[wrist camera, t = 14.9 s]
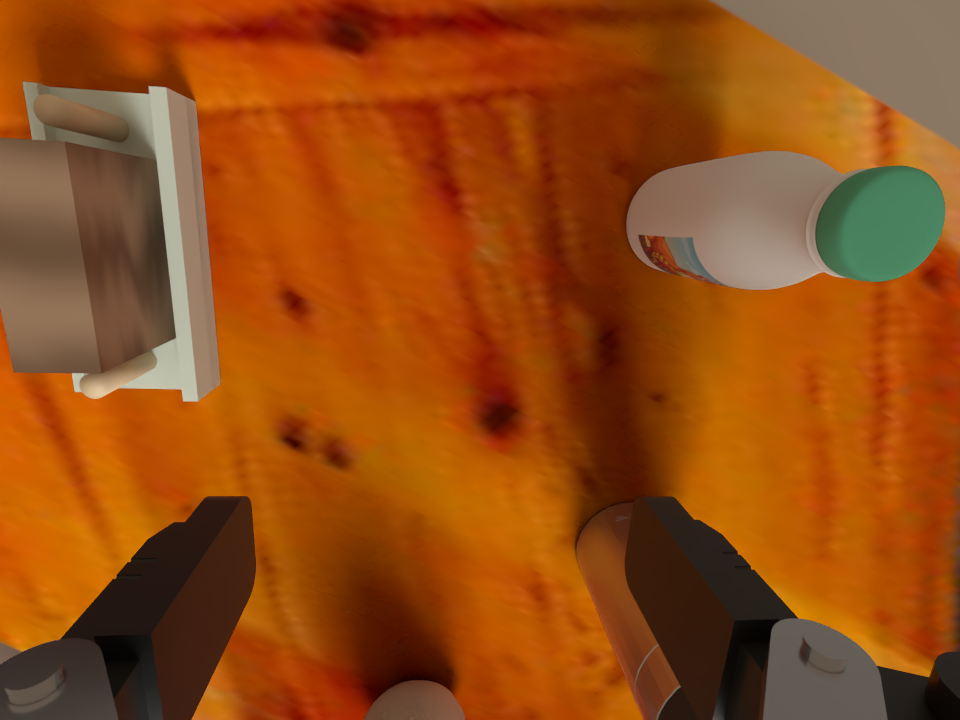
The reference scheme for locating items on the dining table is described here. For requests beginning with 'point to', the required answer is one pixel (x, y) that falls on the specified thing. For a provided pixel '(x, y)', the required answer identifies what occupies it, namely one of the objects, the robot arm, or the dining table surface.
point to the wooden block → (81, 257)
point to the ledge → (175, 145)
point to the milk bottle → (784, 220)
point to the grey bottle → (416, 703)
